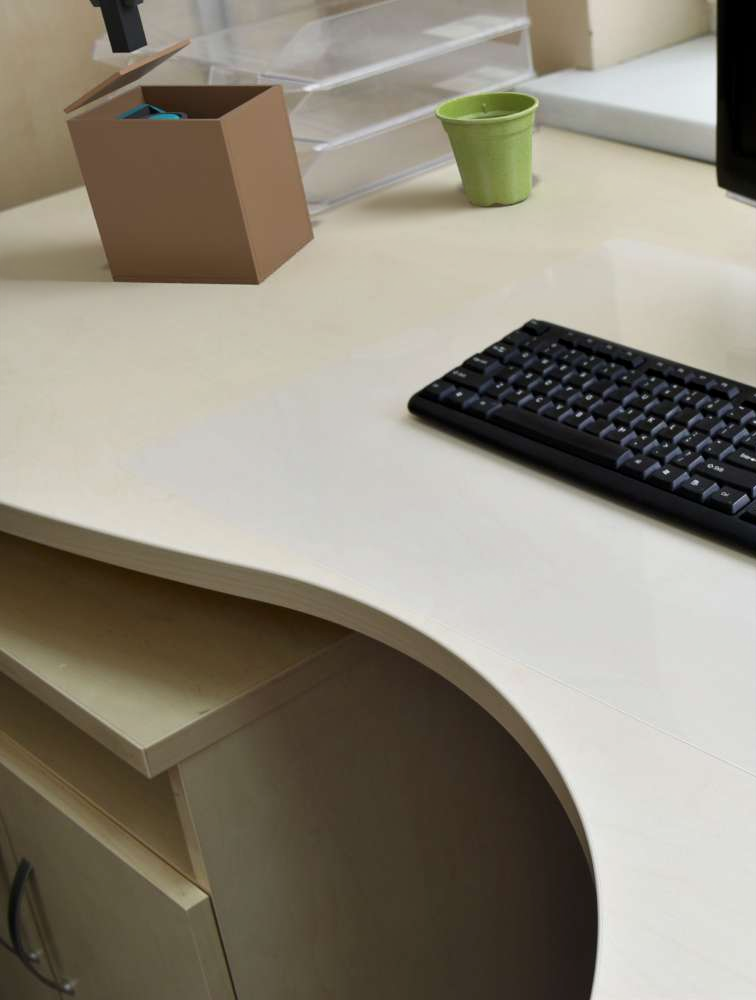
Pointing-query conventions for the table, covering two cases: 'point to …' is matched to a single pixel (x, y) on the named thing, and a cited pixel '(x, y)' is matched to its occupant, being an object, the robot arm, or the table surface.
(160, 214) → the carton
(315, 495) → the table surface
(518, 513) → the table surface
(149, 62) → the flap
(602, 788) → the table surface
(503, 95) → the plant pot
